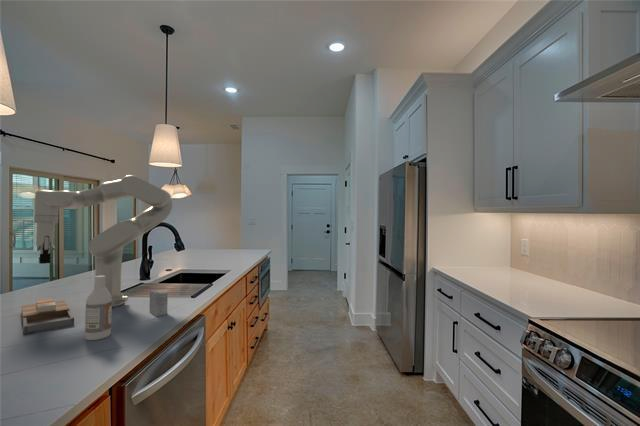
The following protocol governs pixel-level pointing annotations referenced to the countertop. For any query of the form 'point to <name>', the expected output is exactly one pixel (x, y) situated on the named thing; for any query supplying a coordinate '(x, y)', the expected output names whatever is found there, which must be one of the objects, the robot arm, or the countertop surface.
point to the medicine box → (158, 303)
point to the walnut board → (33, 314)
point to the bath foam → (98, 311)
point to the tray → (48, 323)
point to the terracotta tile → (44, 301)
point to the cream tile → (46, 307)
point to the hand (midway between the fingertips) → (44, 263)
